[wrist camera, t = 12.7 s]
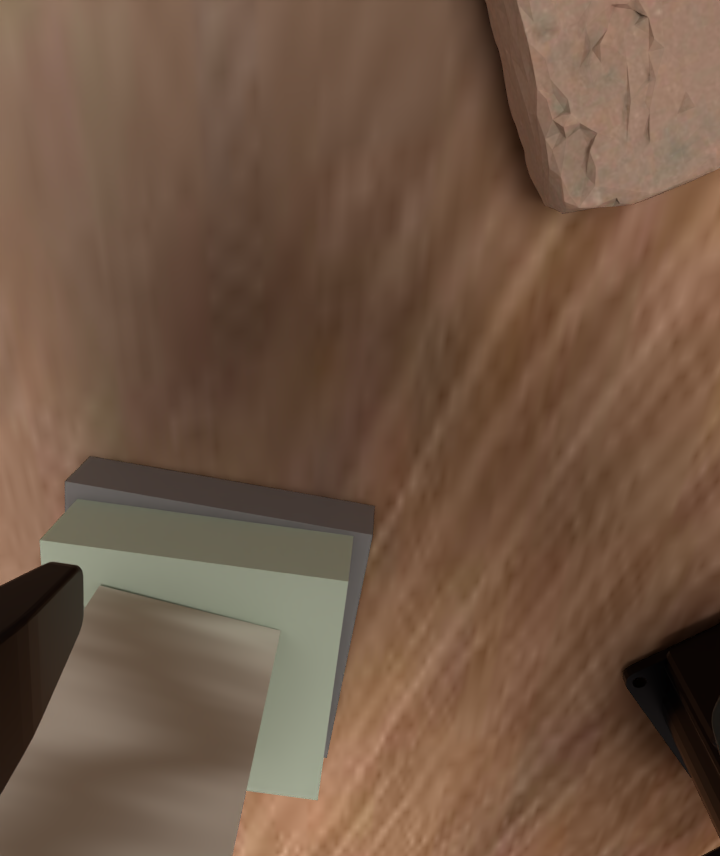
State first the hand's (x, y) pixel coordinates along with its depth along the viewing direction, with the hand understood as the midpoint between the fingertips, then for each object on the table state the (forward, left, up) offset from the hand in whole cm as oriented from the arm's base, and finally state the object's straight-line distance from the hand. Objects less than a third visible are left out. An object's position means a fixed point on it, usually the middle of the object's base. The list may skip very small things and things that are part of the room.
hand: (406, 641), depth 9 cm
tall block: (-3, +11, -9) cm, 14 cm away
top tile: (-4, +11, -11) cm, 16 cm away
